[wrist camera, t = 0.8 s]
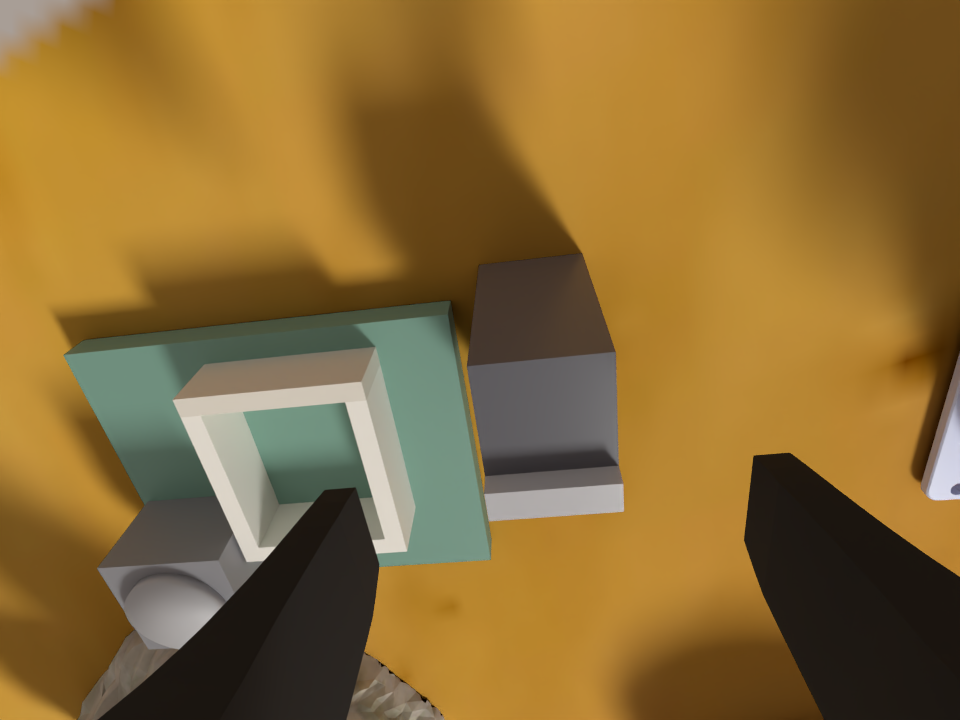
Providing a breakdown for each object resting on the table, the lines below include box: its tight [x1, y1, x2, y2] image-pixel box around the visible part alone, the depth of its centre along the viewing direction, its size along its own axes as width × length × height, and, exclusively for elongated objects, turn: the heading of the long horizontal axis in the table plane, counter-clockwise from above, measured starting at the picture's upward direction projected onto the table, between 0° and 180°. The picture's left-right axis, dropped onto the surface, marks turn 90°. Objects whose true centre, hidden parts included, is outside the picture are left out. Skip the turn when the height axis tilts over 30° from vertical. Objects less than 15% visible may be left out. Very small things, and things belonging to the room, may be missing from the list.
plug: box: [467, 253, 624, 521], centre depth 15 cm, size 3×4×7 cm
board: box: [64, 300, 491, 649], centre depth 19 cm, size 12×10×4 cm
